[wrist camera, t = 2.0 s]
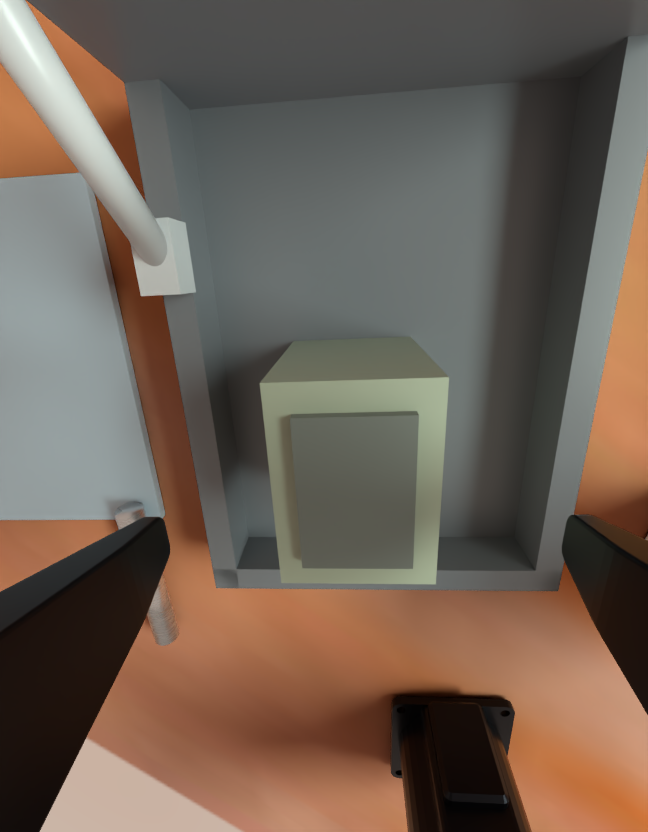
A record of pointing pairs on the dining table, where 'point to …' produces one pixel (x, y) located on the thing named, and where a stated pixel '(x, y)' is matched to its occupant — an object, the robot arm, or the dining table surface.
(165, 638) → the rod
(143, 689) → the dining table surface
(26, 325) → the blue-grey flat plate
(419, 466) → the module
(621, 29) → the equipment case
